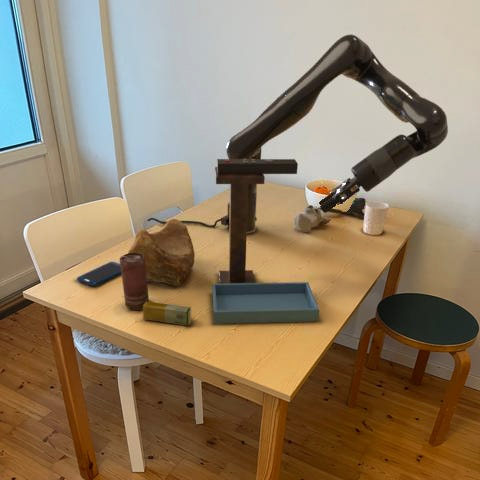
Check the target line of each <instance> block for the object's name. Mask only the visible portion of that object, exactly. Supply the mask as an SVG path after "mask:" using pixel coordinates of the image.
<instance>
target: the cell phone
mask: <svg viewBox="0 0 480 480" xmlns="http://www.w3.org/2000/svg"><path fill="white" fill-rule="evenodd" d="M120 275H122V273H121V267H120V263H118V262H116V261H109V262H107V263H105V264H103V265H101V266H99V267H96V268H93V269H92V270H90V271H88V272H86V273H83V274H82V275H79V276H78V277H77V278H76V280H77V281H78V282H80V283H83V284H84V285H87V286H88V287H92V288H96V287H97V286H99V285H101V284H104V283H105V282H108V281H109V280H111V279H114V278H115V277H117V276H120Z"/></svg>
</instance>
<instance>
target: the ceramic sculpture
mask: <svg viewBox="0 0 480 480" xmlns="http://www.w3.org/2000/svg"><path fill="white" fill-rule="evenodd" d="M331 220H332V218H326V217H322V213H321V210H320V208H317V207H314V206H313V205H312V204H311V205H308V206H306V207H305V208H304V209H303V210H302V211H301V212H300V213H298V214H296V216H295V217H294V225H295V228H296V229H297V230H298V231H300V232H302V233H303V232H305V233H307V232H310V231H311V229H313V228H316V227H318V226H319V227H322V226H326V225H328V224H329V223H330V222H331Z"/></svg>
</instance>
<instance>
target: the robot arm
mask: <svg viewBox="0 0 480 480" xmlns="http://www.w3.org/2000/svg"><path fill="white" fill-rule="evenodd" d="M341 75H343V76H344V77H345V78H347V79H351V80H353V81H355V82H357V83H359V84H361V85H363V86H364V87H366V88H367V89H368V90H369V91H370V92H372V93H373V94H374V95H375V97H376V98H377V99H378V100H379V101H380V103H381V104H382V105H383V106H384V107H385V108H386V109H387V110H388V111H389V112H390V113H391V114H392V115H393V116H395V117H396V118H397V119H398V120H399V121H401V122H402V123H406V124H407V123H409V124H410V125H412V126H413V127H414V129H415V131H414V132H412V133H410V134H409V135H405V134H402V133H401V134H398V135H395V137H393V138H391V140H388V141H387V142H386V143H385V144H383V145H382V146H381V147H379V148H377V149H376V150H374V151H372V152H371V153H369V154H368V155H367V156H366V157H364V158H363V159H362V160H360V161H358V162H357V163H356V164H355V165H353V166H351V168H350V171H351V173H352V175H353V177H352V178H350V177H347V178H346V179H345V180H343V181H342V182H341V183H340V184H339V185H337V186H335V187H334V188H332V190H331V191H330V192H329V194H328V195H326V196H325V198H324V197H323V198H324V199H322V200H321V201H320V202H319V204H320V205H321V206H320V207H321V208H320V209H321V211H322V212H323V213H324V214H326V213H328V212H329V211H331V210H333V209H332V208H333V207H335V206H336V204H337V205H339V204H343V202H345V201H346V200H347V199H349V198H353V197H354V196H355V195H356V194H357V193H359V192H360V191H361V189H360V188H362V189H363V191H364V192H366V193H368V192H370V191H372V190H373V189H374V188H376V187H377V186H378V185H379V184H381V183H382V182H384V181H385V180H386V179H388V178H390V177H391V176H392V175H393V174H394V173H396V172H397V170H399V169H401V168H402V167H403V166H405V165H406V164H407V163H409V162H410V161H411V160H413V159H415V158H417V157H420V156H422V155H424V154H427V153H429V152H431V151H432V150H434V149H436V148H438V147H439V146H440V145H441V144H442V143H443V142H444V141H445V140H446V139H447V137H448V133H449V127H448V116H447V114H446V112H445V111H444V110H443V108H442V107H441V106H440V105H438V104H437V103H435V102H433V101H431V100H430V99H427V98H426V97H422V96H421V95H420V94H419V93H418V92H417V91H416V90H414V89H413V88H412V87H410V86H409V85H408V84H407V83H406V82H405V81H403V80H401V78H399V77H397V76H396V75H394V74H393V73H392V72H391V71H389V70H388V69H387V68H386V67H385V66H384V65H383V64H382V62H380V60H379V59H378V57H377V56H376V54H374V52H373V51H372V49H371V47H370V46H369V45H368V43H366V42H365V41H363V40H362V39H361V37H358V36H356V35H355V34H346V35H343V36H341V37H340V38H339V39H337V40H336V41H335V42H334V43H333V44H332V45H331V46H330V47H329V48H328V49H327V51H326V52H325V53H323V54H322V55H321V57H320V58H319V59H318V60H317V61H316V62H315V63H314V64H313V65H312V67H310V68H309V69H308V70H307V71H306V72H305V73H304V74H303V75H302V76H301V77H299V78H298V79H297V80H296V81H295V82H293V84H292V85H290V86H289V87H288V88H287V89H286V90H285V91H283V92H282V93H281V94H280V95H279V96H277V97H276V99H275V100H274V101H273V102H271V103H270V104H269V105H268V106H267V108H265V109H264V110H263V112H261V113H260V115H259V116H258V117H257V118H255V120H254V121H253V122H251V123H250V124H248V126H246V127H245V128H243V129H242V130H241V131H239V132H238V133H236V134H235V135H233V136H232V137H231V138H230V139H229V140H228V142H227V144H226V148H225V149H226V150H225V151H226V156H227V159H262V148H263V146H264V145H265V144H267V143H268V142H269V141H271V140H272V139H274V138H276V137H278V136H280V135H281V134H283V133H285V132H286V131H287V130H289V129H291V128H293V126H295V125H296V124H298V123H299V122H300V121H301V120H302V119H304V118H305V117H306V116H307V115H308V114H310V112H311V111H312V110H313V108H314V106H315V104H316V103H317V100H318V98H319V96H320V94H321V93H322V91H323V90H324V89H325V88H326V87H327V86H328V85H329V84H330V83H332V82H333V81H334V80H335V79H337V78H338V77H340V76H341ZM257 196H258V184H248V206H247V235H249V234H252V233H255V232H256V230H257V229H256V228H257V226H256V222H257V221H258V219H257V218H258V217H257V201H258V200H257V198H258V197H257ZM330 209H331V210H330ZM229 212H230V201H229V202H228V203H227V214H226V215H224V216H222V217H220V218H219V219H217V220H215V222H214V224H207V223H204V222H202V221H196V220H180V221H181V222H182V223H183V224H197V225H201V226H203V227H207V228H215V227H216V226H217V224H218V223H219V222H220V225H222V226H226V227H227V230H229ZM150 221H155V222H157V223H160V224H166V222H167V221H168V220H165V221H163V220H159V219H157V218H155V217H150V218H148V219H147V220H146V222H150Z"/></svg>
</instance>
